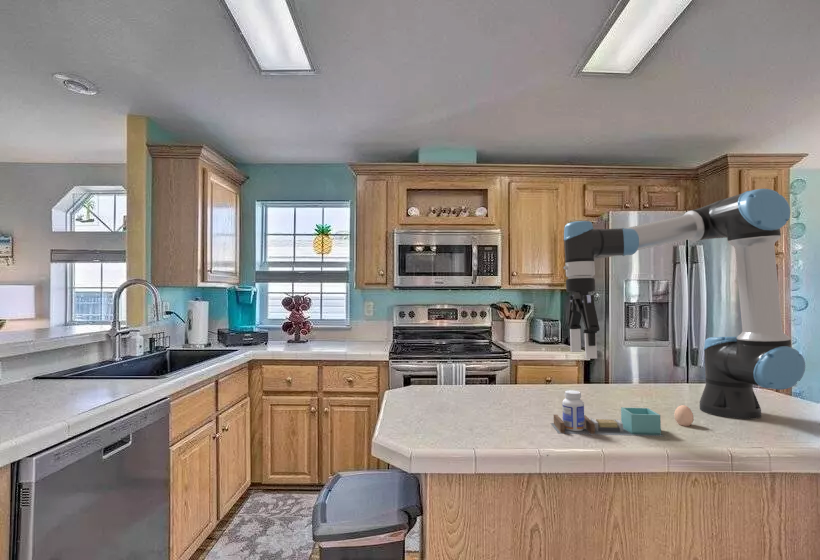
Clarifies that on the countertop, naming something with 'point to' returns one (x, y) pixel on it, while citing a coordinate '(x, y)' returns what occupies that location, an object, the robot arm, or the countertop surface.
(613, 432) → the mat
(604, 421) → the pad
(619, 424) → the cradle base
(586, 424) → the trough
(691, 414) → the egg
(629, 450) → the countertop surface
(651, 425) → the teal open box
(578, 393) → the pill bottle
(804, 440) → the countertop surface
